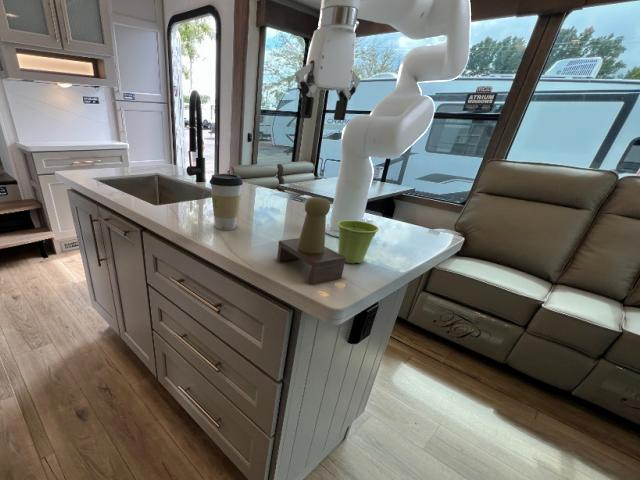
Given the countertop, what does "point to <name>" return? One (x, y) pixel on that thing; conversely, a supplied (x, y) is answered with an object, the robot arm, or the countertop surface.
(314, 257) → the shelf
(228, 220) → the coffee cup
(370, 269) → the countertop surface
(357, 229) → the plant pot
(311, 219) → the olive pawn figure
